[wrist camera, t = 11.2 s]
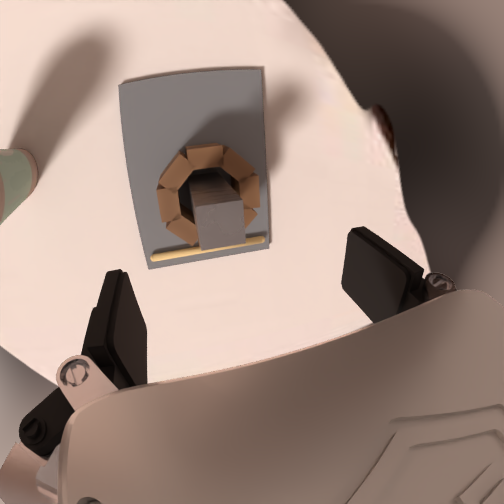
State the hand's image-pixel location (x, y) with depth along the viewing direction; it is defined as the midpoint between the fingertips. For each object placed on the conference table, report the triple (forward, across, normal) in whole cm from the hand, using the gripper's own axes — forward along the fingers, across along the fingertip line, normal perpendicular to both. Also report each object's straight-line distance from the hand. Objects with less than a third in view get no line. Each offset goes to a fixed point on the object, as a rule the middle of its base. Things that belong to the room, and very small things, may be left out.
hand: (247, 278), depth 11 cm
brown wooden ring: (+18, 0, +1) cm, 18 cm away
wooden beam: (+18, 0, +1) cm, 18 cm away
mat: (+19, 0, -1) cm, 19 cm away
